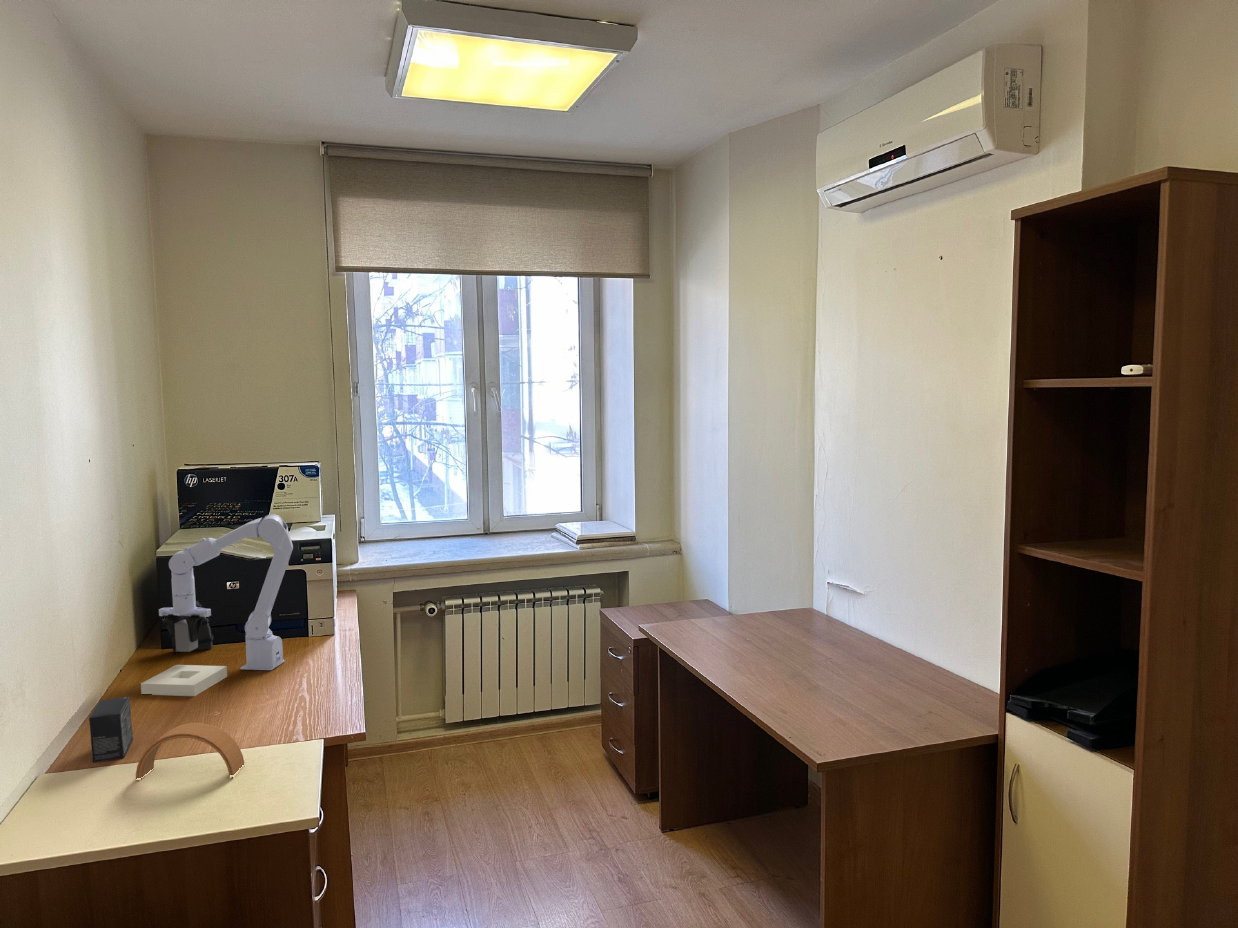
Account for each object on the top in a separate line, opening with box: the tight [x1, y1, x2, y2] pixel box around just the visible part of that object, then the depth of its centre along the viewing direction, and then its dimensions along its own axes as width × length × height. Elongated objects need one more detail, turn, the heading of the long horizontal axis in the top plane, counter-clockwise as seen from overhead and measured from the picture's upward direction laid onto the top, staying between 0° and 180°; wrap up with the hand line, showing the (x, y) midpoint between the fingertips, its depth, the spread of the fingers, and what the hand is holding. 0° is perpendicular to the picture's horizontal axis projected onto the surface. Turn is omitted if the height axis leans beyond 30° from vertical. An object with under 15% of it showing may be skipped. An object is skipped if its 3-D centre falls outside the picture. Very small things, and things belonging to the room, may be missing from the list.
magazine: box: [161, 600, 214, 654], centre depth 259 cm, size 4×13×15 cm, turn 109°
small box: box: [88, 696, 134, 763], centre depth 187 cm, size 11×6×10 cm, turn 21°
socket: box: [140, 664, 228, 697], centre depth 229 cm, size 15×15×3 cm
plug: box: [175, 620, 198, 653], centre depth 237 cm, size 4×4×8 cm
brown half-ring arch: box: [135, 722, 245, 780], centre depth 176 cm, size 6×20×10 cm, turn 92°
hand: (186, 640), depth 238 cm, fingers closed on plug, 4 cm apart
